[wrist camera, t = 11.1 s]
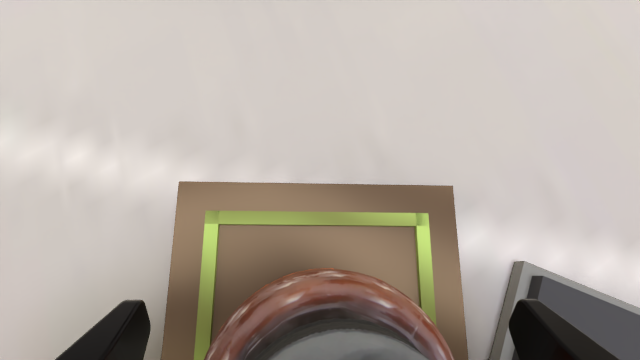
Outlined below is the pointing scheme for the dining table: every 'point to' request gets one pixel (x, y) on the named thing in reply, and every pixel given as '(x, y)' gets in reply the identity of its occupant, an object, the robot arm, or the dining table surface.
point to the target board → (307, 250)
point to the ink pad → (570, 312)
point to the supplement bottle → (328, 322)
